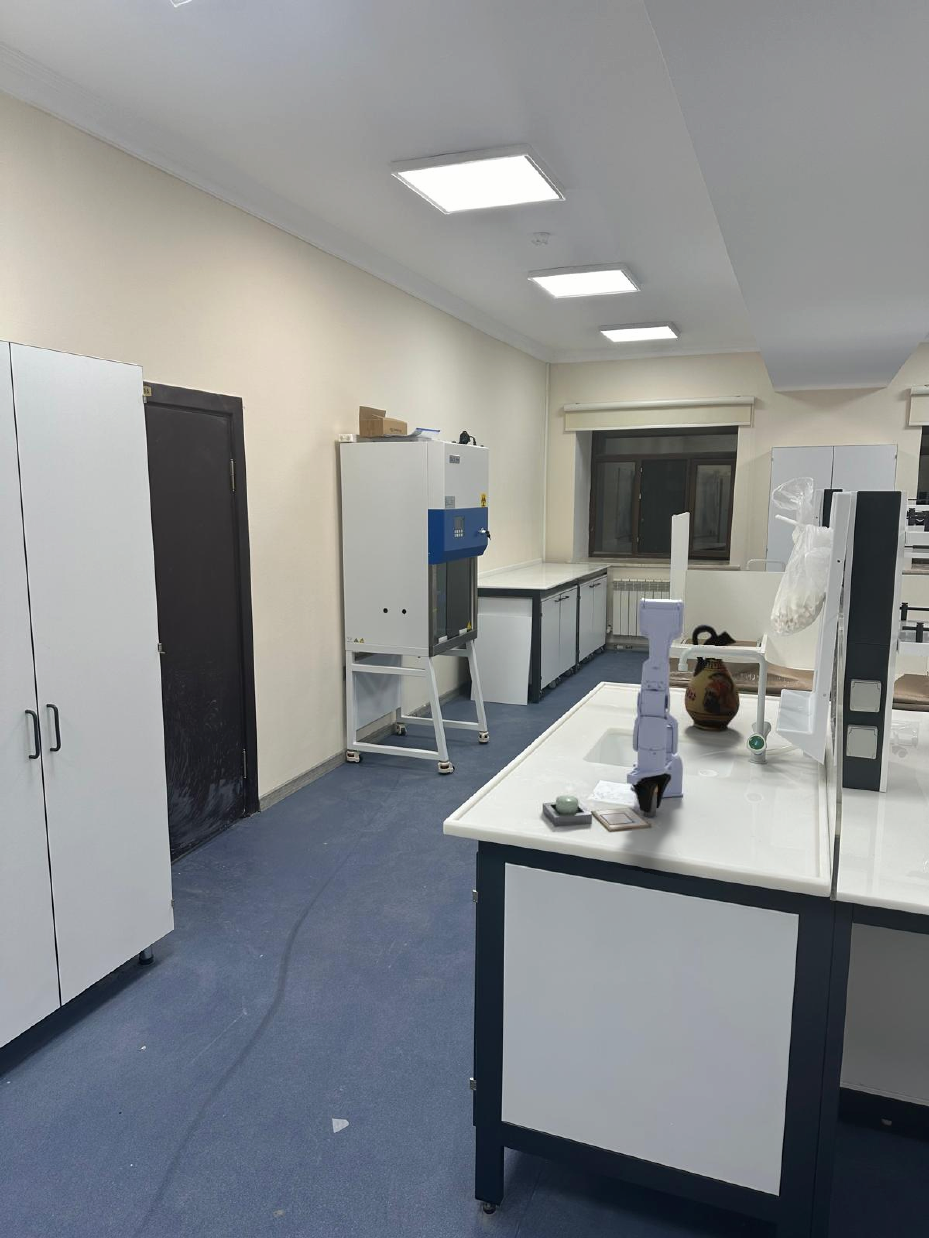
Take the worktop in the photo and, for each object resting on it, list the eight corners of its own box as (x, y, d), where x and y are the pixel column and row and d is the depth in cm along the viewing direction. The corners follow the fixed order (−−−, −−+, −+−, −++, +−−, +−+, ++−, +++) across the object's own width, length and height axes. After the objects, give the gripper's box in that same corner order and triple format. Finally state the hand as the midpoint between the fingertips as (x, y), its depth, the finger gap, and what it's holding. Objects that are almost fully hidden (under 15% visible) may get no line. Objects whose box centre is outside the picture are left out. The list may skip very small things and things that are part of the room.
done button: (573, 806, 173) (573, 794, 172) (581, 814, 168) (581, 802, 168) (552, 808, 172) (553, 796, 171) (560, 816, 167) (560, 804, 167)
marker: (652, 812, 173) (653, 782, 172) (659, 817, 171) (660, 787, 170) (639, 813, 173) (640, 783, 172) (645, 818, 170) (647, 788, 169)
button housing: (578, 809, 175) (578, 800, 175) (591, 823, 167) (592, 814, 167) (542, 812, 173) (542, 803, 173) (554, 826, 165) (555, 817, 165)
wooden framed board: (630, 809, 175) (630, 806, 175) (651, 827, 165) (651, 824, 165) (591, 812, 173) (591, 810, 173) (609, 831, 163) (609, 828, 163)
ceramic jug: (736, 721, 245) (741, 623, 240) (740, 735, 230) (745, 631, 226) (677, 717, 249) (681, 620, 245) (678, 731, 234) (682, 628, 230)
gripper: (655, 735, 177) (652, 795, 179) (615, 749, 167) (613, 812, 169) (683, 742, 172) (681, 803, 174) (644, 757, 162) (642, 822, 164)
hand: (649, 808), depth 171 cm, fingers closed on marker, 3 cm apart
